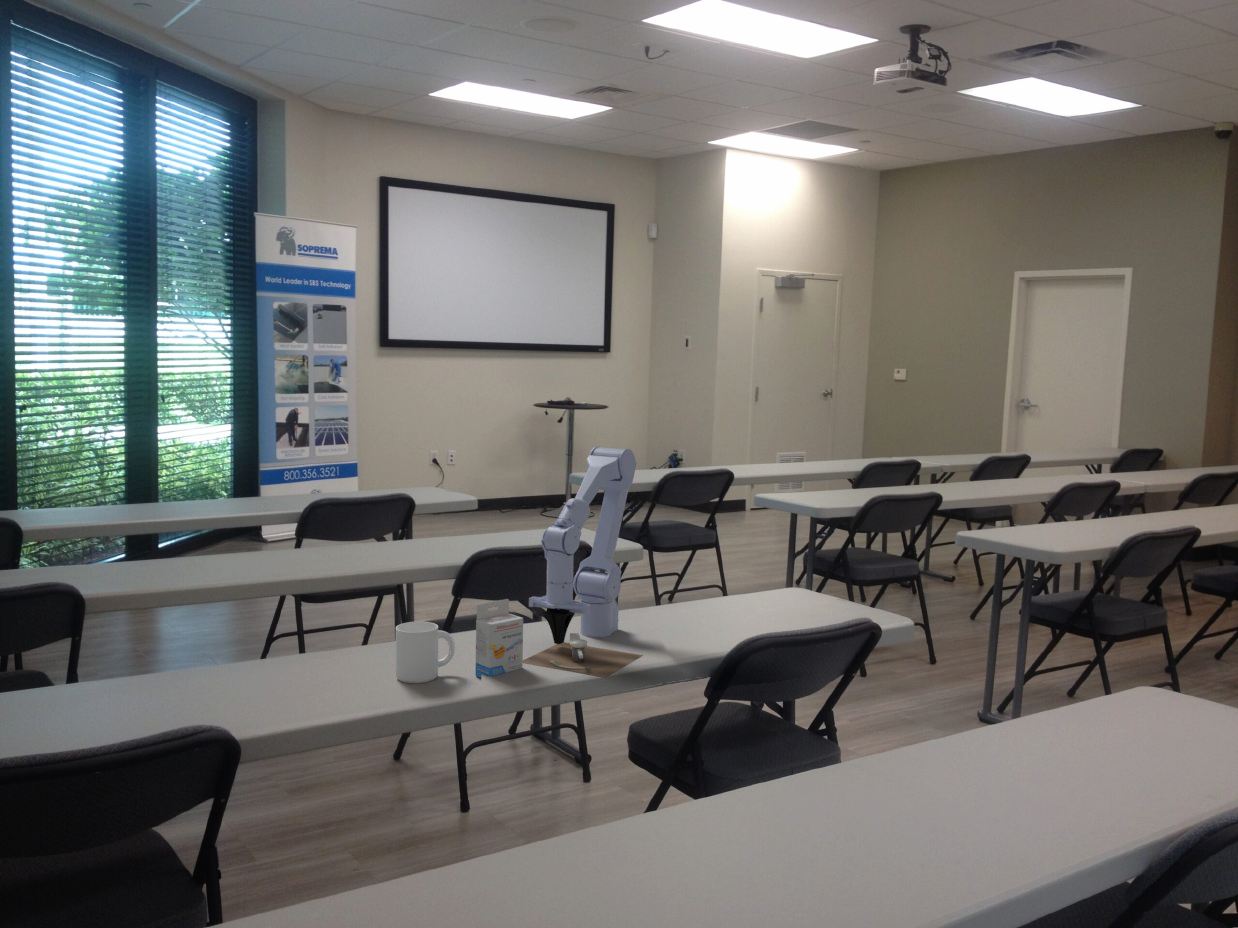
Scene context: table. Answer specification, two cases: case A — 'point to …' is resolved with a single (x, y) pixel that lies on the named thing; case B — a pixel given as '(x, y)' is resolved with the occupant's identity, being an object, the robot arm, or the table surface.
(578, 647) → the lever
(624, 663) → the wood grain tray mat
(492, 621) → the ink box
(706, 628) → the table surface
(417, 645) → the mug
